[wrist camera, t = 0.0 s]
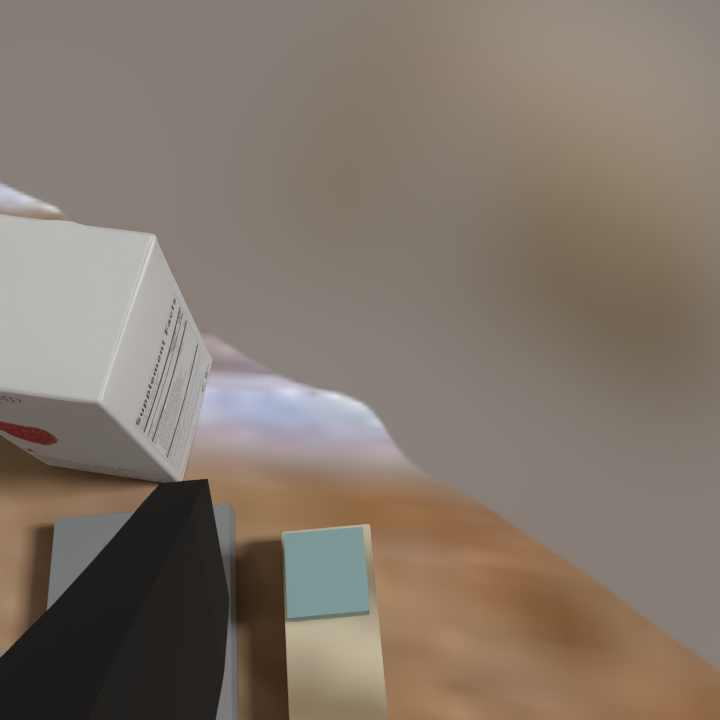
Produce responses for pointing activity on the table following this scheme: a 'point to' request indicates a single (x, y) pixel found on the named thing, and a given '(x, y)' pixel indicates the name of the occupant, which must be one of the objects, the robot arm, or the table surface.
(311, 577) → the block
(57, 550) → the loading dock
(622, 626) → the table surface
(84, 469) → the supplement box
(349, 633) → the beige bar
